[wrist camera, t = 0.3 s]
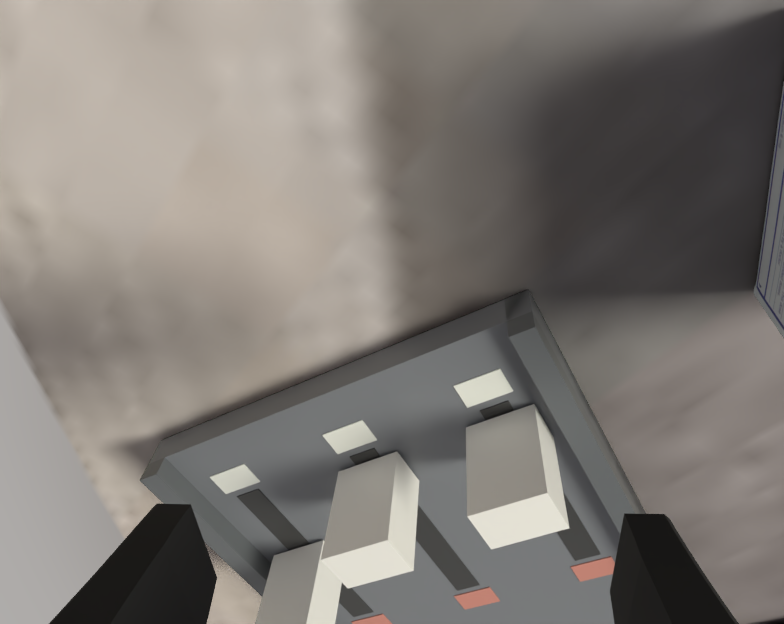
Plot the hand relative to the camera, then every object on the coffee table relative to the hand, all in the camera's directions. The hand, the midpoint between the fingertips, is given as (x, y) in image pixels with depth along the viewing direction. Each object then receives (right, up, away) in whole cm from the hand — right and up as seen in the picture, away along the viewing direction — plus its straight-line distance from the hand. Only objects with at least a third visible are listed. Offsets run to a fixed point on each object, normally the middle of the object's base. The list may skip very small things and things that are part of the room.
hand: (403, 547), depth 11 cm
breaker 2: (+4, 0, +10) cm, 11 cm away
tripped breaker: (-4, -6, +15) cm, 16 cm away
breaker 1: (-1, -2, +12) cm, 12 cm away
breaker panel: (+1, -4, +15) cm, 15 cm away
